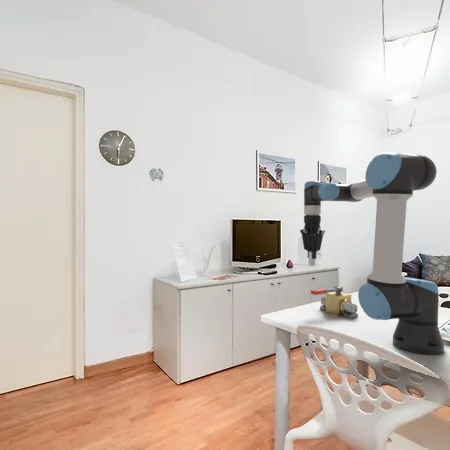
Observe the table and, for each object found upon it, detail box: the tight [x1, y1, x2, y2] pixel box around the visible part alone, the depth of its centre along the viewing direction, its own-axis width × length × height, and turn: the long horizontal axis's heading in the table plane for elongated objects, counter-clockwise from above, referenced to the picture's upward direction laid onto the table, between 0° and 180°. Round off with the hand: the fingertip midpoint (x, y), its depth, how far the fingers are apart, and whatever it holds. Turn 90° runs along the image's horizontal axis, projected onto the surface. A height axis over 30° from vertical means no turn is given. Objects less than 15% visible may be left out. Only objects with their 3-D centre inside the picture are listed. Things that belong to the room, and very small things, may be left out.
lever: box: [310, 286, 344, 296], centre depth 151 cm, size 18×4×2 cm, turn 119°
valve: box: [320, 291, 359, 319], centre depth 154 cm, size 8×18×10 cm, turn 29°
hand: (311, 265), depth 153 cm, fingers closed
